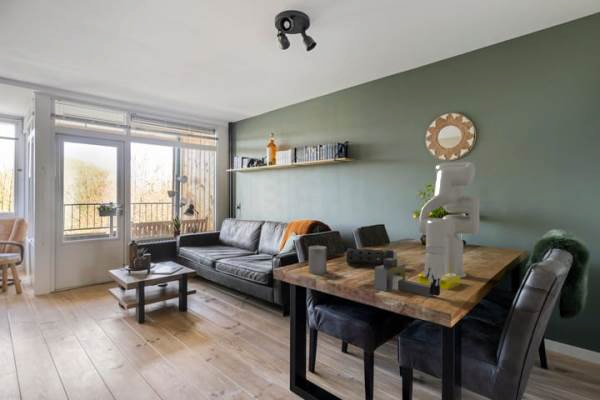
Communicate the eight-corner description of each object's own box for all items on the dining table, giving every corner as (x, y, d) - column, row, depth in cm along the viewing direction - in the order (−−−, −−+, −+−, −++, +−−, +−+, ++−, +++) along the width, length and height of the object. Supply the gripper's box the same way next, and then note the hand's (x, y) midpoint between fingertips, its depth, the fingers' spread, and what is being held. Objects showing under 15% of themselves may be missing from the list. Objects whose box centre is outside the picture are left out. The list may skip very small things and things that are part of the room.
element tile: (430, 278, 158) (431, 268, 157) (461, 284, 146) (462, 274, 146) (416, 283, 148) (416, 273, 147) (448, 290, 136) (448, 280, 136)
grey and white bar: (393, 285, 142) (394, 275, 142) (433, 295, 129) (433, 283, 129) (389, 287, 139) (389, 276, 139) (429, 297, 126) (429, 285, 126)
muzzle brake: (348, 263, 189) (348, 246, 188) (396, 266, 180) (396, 249, 180) (346, 266, 179) (346, 249, 179) (396, 270, 171) (396, 252, 171)
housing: (393, 281, 149) (393, 255, 149) (405, 284, 145) (405, 257, 144) (374, 288, 138) (374, 260, 137) (386, 291, 133) (386, 262, 133)
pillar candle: (314, 269, 173) (314, 242, 172) (330, 271, 167) (329, 244, 167) (305, 273, 165) (304, 245, 164) (320, 275, 159) (320, 246, 159)
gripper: (434, 246, 134) (433, 288, 134) (418, 251, 123) (418, 296, 124) (452, 249, 128) (451, 292, 129) (437, 253, 118) (436, 301, 118)
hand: (435, 294), depth 126 cm, fingers closed
